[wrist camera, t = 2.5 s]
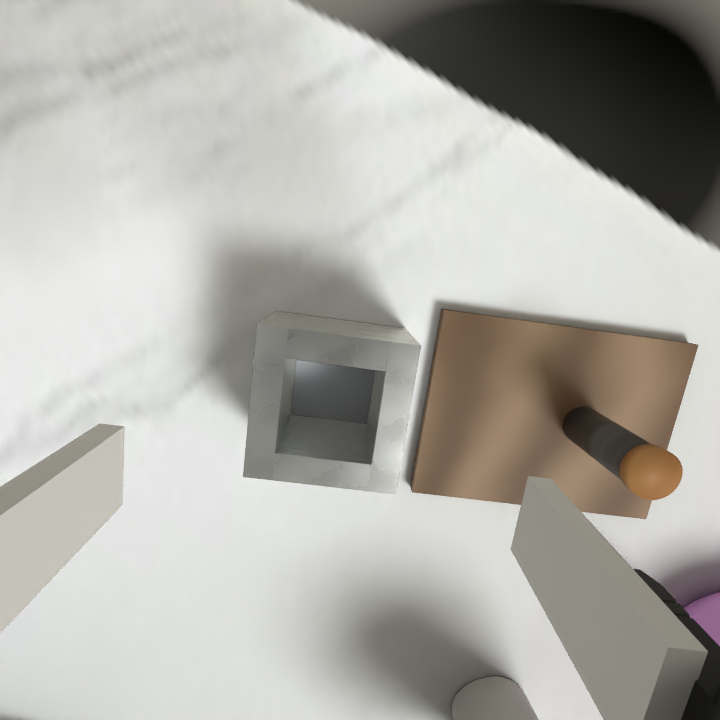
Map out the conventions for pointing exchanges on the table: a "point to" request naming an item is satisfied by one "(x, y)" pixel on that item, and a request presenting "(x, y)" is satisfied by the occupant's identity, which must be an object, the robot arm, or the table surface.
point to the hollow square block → (325, 436)
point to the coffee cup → (492, 701)
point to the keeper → (550, 413)
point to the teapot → (707, 614)
